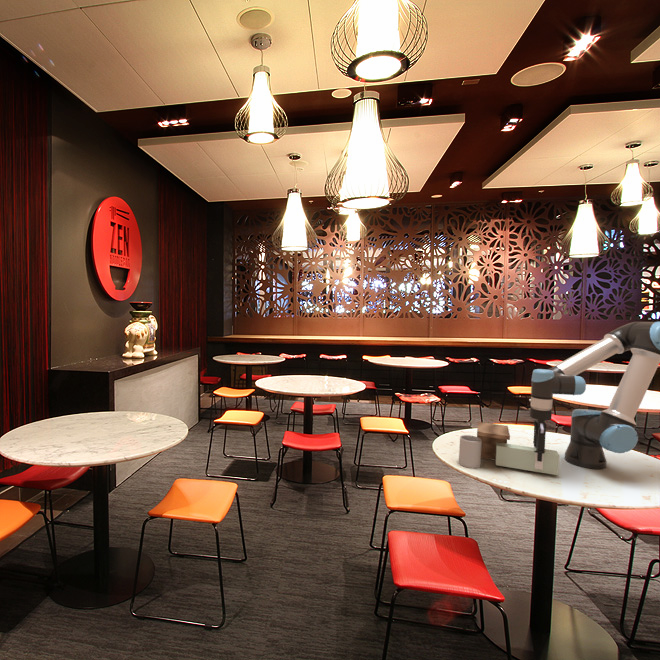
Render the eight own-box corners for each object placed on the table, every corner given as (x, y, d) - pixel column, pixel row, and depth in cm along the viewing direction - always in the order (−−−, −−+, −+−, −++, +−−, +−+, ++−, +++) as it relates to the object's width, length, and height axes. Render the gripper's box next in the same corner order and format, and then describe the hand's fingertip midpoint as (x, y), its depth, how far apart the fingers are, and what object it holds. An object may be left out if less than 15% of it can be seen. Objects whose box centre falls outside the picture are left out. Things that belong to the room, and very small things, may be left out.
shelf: (505, 460, 164) (507, 425, 164) (507, 473, 150) (509, 436, 149) (476, 455, 169) (477, 421, 168) (475, 468, 154) (477, 431, 154)
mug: (479, 470, 153) (481, 443, 152) (457, 465, 156) (459, 439, 156) (481, 460, 164) (482, 434, 163) (460, 456, 167) (461, 431, 167)
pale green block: (555, 470, 152) (556, 450, 152) (557, 475, 147) (558, 454, 147) (495, 460, 160) (496, 442, 160) (495, 465, 155) (496, 445, 155)
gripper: (527, 402, 161) (524, 457, 162) (533, 412, 144) (529, 472, 145) (548, 404, 158) (545, 460, 159) (555, 414, 141) (552, 476, 142)
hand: (537, 466), depth 152 cm, fingers closed on pale green block, 5 cm apart
